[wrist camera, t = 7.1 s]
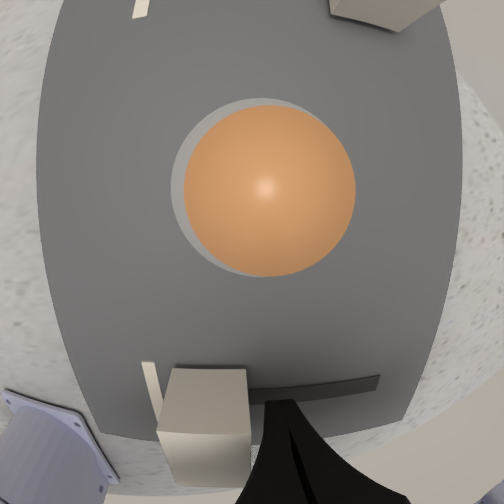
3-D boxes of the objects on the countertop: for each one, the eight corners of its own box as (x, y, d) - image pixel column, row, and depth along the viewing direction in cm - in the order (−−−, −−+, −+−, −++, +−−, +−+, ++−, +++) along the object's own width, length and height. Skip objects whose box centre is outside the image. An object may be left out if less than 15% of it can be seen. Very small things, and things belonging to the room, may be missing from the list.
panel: (392, 405, 15) (405, 425, 13) (107, 415, 14) (98, 438, 12) (416, -15, 8) (433, -28, 6) (91, -30, 7) (77, -47, 5)
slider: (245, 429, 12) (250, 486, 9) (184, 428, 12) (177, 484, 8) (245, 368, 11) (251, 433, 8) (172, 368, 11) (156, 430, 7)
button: (327, 255, 10) (348, 274, 8) (195, 256, 9) (186, 276, 7) (332, 124, 8) (356, 114, 7) (194, 120, 8) (184, 105, 6)
